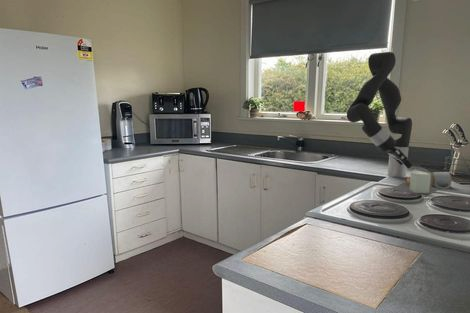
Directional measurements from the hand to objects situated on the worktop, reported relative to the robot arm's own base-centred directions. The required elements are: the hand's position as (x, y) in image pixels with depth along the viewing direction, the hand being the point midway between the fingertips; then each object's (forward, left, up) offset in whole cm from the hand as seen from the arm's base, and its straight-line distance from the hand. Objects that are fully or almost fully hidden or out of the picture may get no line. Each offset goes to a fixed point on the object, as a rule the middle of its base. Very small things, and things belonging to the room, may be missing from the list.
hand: (406, 165), depth 149 cm
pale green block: (-4, +5, -12) cm, 14 cm away
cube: (-13, -1, -12) cm, 18 cm away
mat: (-8, +2, -12) cm, 15 cm away
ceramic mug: (-24, +9, -13) cm, 28 cm away
